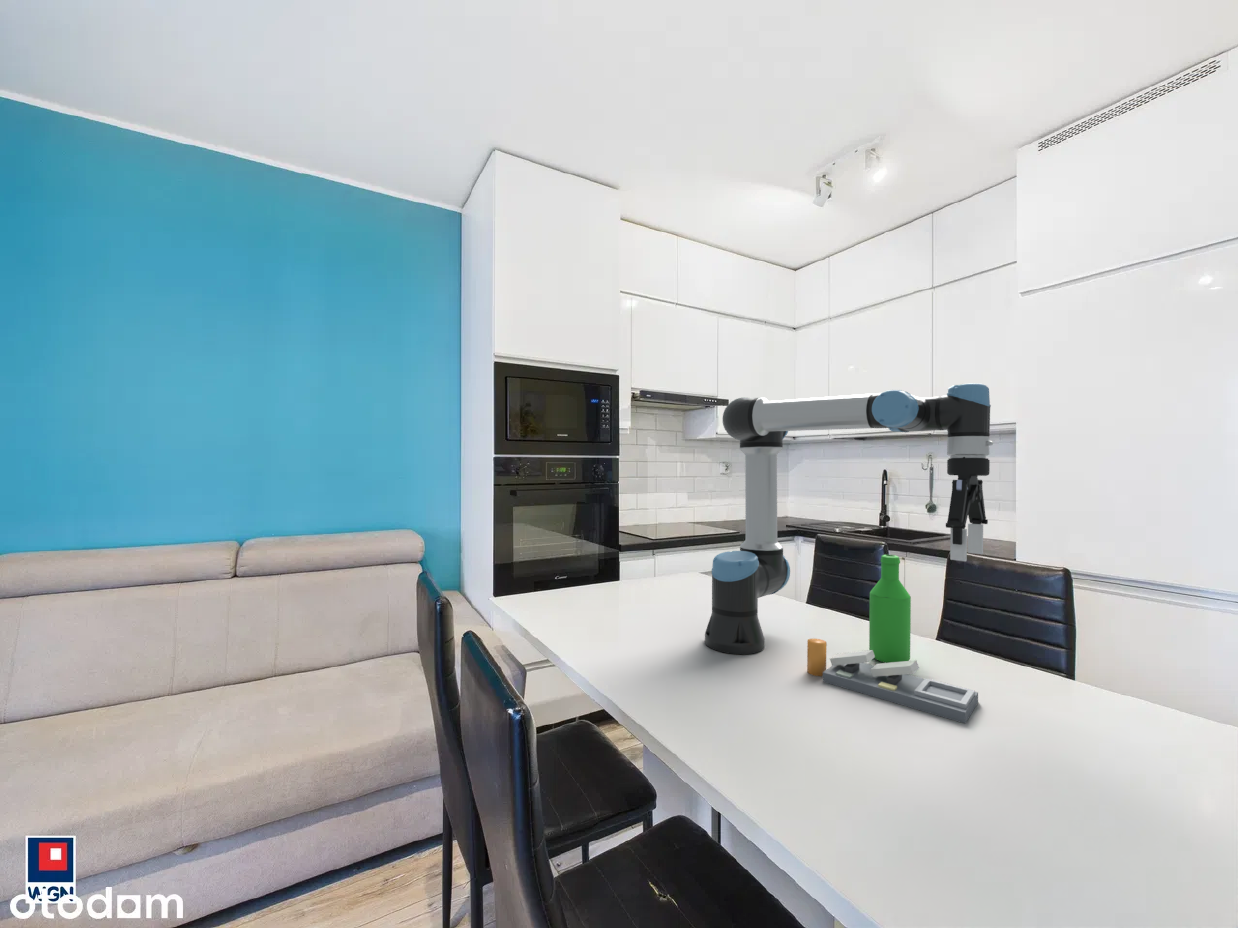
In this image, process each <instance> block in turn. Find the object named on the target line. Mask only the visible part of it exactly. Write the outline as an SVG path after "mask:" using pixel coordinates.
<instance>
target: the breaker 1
mask: <svg viewBox="0 0 1238 928" xmlns="http://www.w3.org/2000/svg"><path fill="white" fill-rule="evenodd" d="M874 657H875V655H874V652H873V650H869V649H867V650H861V651H859V650H858V651H850V652H849V651H848V652H840V653H835V655H833V656H831V657H830V658H829V661H830V665H831V666H834V665H845V664H855V663H866V664H867V663H869V662H871V661H872V660H873V659H875V658H874Z"/></svg>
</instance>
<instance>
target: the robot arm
mask: <svg viewBox="0 0 1238 928" xmlns="http://www.w3.org/2000/svg"><path fill="white" fill-rule="evenodd" d="M990 400H991V398H990V388H989V386H988V385H986V384H984V383H962V384H954V385H951V386H949V387H948V389H947V393H946V395H942V396H940V395H939V396H931V397H919V396H916V395H913V394H911V393H909V392H908V391H904V390H902V389H890V390H889V389H888V390H885V391H883V392H878V393H864V394H851V395H849V394H848V395H837V396H835V395H834V396H824V397H809V398H796V399H795V398H793V399H781V400H780V399H779V400H768V399H767V398H766V397H739V398H736V399H734V400H732V401H731V402H729V403H728V404H727V406H726V407H725V408H724V410H723V414H722V426H723V428H724V430H725V431H726V433H727V434H728V435H729V436H730V437H731V438H733V439H735V440H737V441H739V450H740V451H741V452H742V453H743V454H744V456H745V457H744V460H745V463H744V464H745V466H744V467H745V468H744V469H745V472H744V473H745V475H744V476H745V477H744V478H745V481H744V482H745V486H744V487H745V495H744V496H745V497H744V498H745V503H744V504H745V540H744V541H743V542H742V543H741V544H740V546H739V550H732V551H724V552H721V553H718V554H716V555H715V556H714V558H713V559H712V566H711V615H710V617H709V620H708V623H707V626H706V629H705V632H704V644H705V645H706V646H707V647H708V648H709V649H712V650H714V651H718V652H721V653H726V654H734V655H748V654H749V655H751V654H755V653H760V652H761V651H764V649H765V636H764V632H763V629H762V626H761V623H760V620H759V614H758V613H759V610H758V607H759V605H758V601H759V598H763V597H765V596H766V597H767V596H769V595H774V594H776V593H777V592H779V591H780V590H782V589H783V588H785V586H786V585H787V584H788V582H789V580H790V576H791V567H790V563H789V560H788V559H786V556H785V555H784V547H783V545H782V544H781V543H780V542H779V541H778V454H779V453H780V452H782V450H783V449H784V447H783V443H784V442H783V440H784V439H785V437H786V436H787V434H788V433H789V432H792V431H793V432H797V431H799V432H800V431H801V432H802V431H824V430H825V431H828V430H854V429H855V430H856V429H857V430H859V429H860V430H861V429H863V430H864V429H888V430H889V431H891V432H900V433H909V432H928V431H930V432H931V431H947V441H946V444H947V445H946V454H947V455H948V456H949V457H950V458H948V459H947V460H946V466H947V467H946V468H947V469H946V471H947V472H946V473H947V474H948V476H957V479H952V482H951V487H952V488H951V495H950V501H949V509H948V515H947V516H948V517H947V520H946V521H947V522H945V528H949V529H950V538H949V539H950V540H949V541H950V545H949V548H950V551H949V555H950V557H949V558H950V560H951V561H958V562H967V560H968V559H967V557H968V554H975V555H983V554H984V525H988V519H987V517H986V510H985V499H984V491H983V479H979V478H978V477H981V476H982V477H986V476H989V475H990V472H991V471H990V466H991V464H990V463H991V462H990V459H989V458H987V457H986V456H989V455H990V447H991V446H993V444H994V442H993V441H992V440H990V436H991V434H990V431H991V427H990V426H991V406H992V405H991V404H990V403H991V401H990ZM967 520H969V523H967V522H968V521H967ZM966 524H967V528H966Z"/></svg>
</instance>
